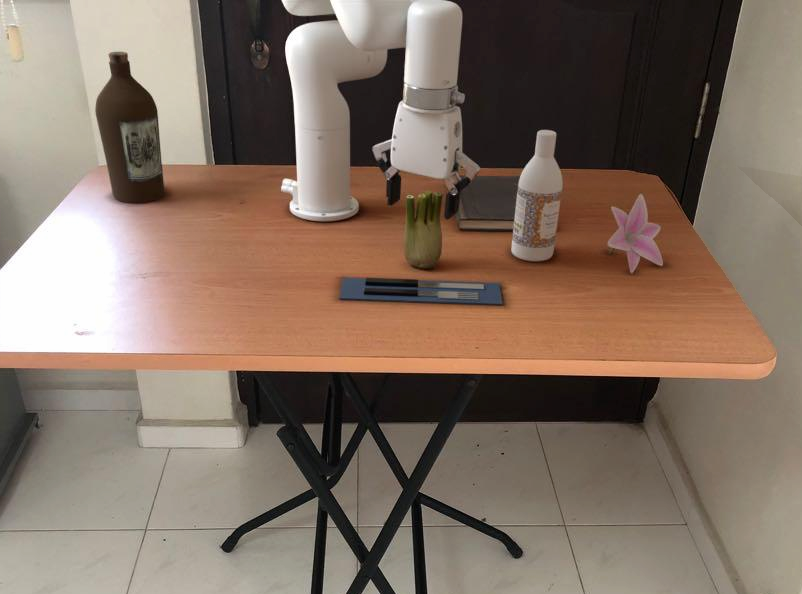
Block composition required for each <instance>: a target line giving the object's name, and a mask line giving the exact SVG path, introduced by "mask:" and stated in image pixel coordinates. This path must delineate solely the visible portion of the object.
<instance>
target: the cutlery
mask: <svg viewBox="0 0 802 594" xmlns="http://www.w3.org/2000/svg"><path fill="white" fill-rule="evenodd" d="M365 278H366V280H365V285H366V286H393V287H418V288H437V289H465V290H484V285H483V284H461V283H434V282H418V280H419V279H416V278H414V279H413V278H412V279H410V278H386V277H385V278H384V277H383V278H382V277H365ZM364 295H388V296H416V297H417V296H421V297H438V299H454V300H479V298H478V293H468V292H451V291H438V292H418V290H411V289H384V288H364Z"/></svg>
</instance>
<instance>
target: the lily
mask: <svg viewBox="0 0 802 594" xmlns="http://www.w3.org/2000/svg"><path fill="white" fill-rule="evenodd" d="M610 209H611V212H612V214H613V217H614V219H615V221H616V223H617V226H618V228H617V230H616V231H615V232H614V233H613V234H612V236H610V238H609V239H608V241H607V246H608V247H610V248H611V249H610V250H609V252H608V254H612V252H613V251H614V250H615V249H617V250H621V251H625V252H626V257H627V263H628V267H629V272H630V274H633V273H634V272H635V270H636V268H637V267H638V265H639V263H640V260H641V257H642V258H644V259H646V260H648V261H650V262H652V263H653V264H655V265H657V266H660V267H663V265H664V262H663V257H662V254H661V251H660V249H659V247H658V245H657V242H655V240H654V239H655V237H656V236H657V235H658V234H659V233H660V231H661V228H662V227H661V225H659V224H657V223H654V222H650V221H648V219H649V215H648V214H649V213H648V207H647V203H646V199H645V198H644V195H643V194H642V193H640V194H639V195H638V196H637V198H636V200H635V202H634V204H633V206H632V208H631V209H630V211H629V213H628V214H627V213H626V212H625V211H624V210H622V209H620V208H618V207H616V206H611V207H610Z"/></svg>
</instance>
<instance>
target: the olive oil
mask: <svg viewBox="0 0 802 594" xmlns="http://www.w3.org/2000/svg"><path fill="white" fill-rule="evenodd" d="M108 59H109V62H108V65H109V70H110V78H109V79H108V81H107V82H106V83H105V84H104V86H103V88H101V91H100V92H99V93H98V95H97V97H96V100H95V109H94V110H95V111H94V113H95V117H96V123H97V126H98V132H99V135H100V140H101V144H102V149H103V153H104V158H105V163H106V167H107V172H108V177H109V182H110V187H111V192H112V196H113V198H114V200H117V201H120V202H122V203H128V204H129V203H130V204H139V203H148V202H153V201H155V200H158V199H160V198H162V197H163V196H164V195H165V183H164V182H165V181H164V173H163V171H164V170H163V163H162V162H163V161H162V151H161V149H162V148H161V139H160V127H159V126H160V125H159V113H158V107H157V104H156V102H155V100H154V98H153V96H152V94H151V93H150V91H148V90H147V89H146V88H145V87H144V86H143V85H141V83H140V82H138V81H137V80H136V79H135V78H134V77H133V75H132V72H131V63H130V61H129V54H128V52H126V51H111V52H109V53H108Z"/></svg>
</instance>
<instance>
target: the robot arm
mask: <svg viewBox="0 0 802 594" xmlns="http://www.w3.org/2000/svg"><path fill="white" fill-rule="evenodd" d="M281 3H282V4H283V7H284V8H285V10H286V11H287V12H288V13H289V14H290V15H293V16H299V17H313V16H324V15H335V16H336V19H337V20H336V19H335V20H334V19H333V20H324V21H314V22H307V23H304V24H302V25H301V24H300V25H299V26H297V27H296V28H295V29H293V30H292V31H291V32H290V34H289V35H288V36H287V39H286V41H285V59H286V64H287V69H288V73H289V78H290V83H291V90H292V98H293V99H292V101H293V115H294V131H295V132H294V133H295V135H294V136H295V158H296V180H294V179H290V178H283V180H282V183H281V187H280V193H282V194H288V195H291V196H292V199H291V201H290V202H289V211H290V212H291V214H292V215H294V216H296V217H298V218H300V219H302V220H307V221H312V222H337V221H342V220H346V219H349V218H351V217H354V216H355V215H356V214H358V212H359V210H360V203H359V201H358V200H357V199H356V198H354V197H353V196H351V115H350V108H349V105H348V102H347V101H346V99H345V97H344V96H343V94H342V93H341V91H340V90H339V86H338V84H340V83H341V84H342V83H344V82H351V81H358V80H364V79H369V78H373V77H376V76H378V75H379V74H381V72H382V71H383V70H384V69H385V66H386V64H387V59H388V50H392V49H393V50H394V49H403V48H404V49H405V52H404V53H405V54H404V55H405V59H404V72H403V73H404V76H403V90H402V91H403V92H402V100H401V101H400V102H399V103H398V105H397V110H396V114H395V118H394V123H393V129H392V135H391V138H390V139H388V140H385V141H382V142H378V143H377V144H375V145H374V146H372V148H371V149H372V153H373V155H374V158H375V160H376V165H377V166H378V168H379V169H380V171H381V172H382V173H383V178H384V180H386V189H385V190H386V191H385V197H386V198H387V205H388V206H393V205H395V204H396V203H398V202H399V201H400V200H401V193H402V176H401V175H402V174H399V173H400V172H404V173H407V174H411V175H416V176H420V177H425V178H429V179H435V180H441V181H442V182H443V183H444V185H445V187H446V188H447V190H448V192H447V193H446V194H445V199H444V200H445V201H444V212H443V218H444V219H445V220H447V221H448V220H450V219H451V218H453V217H454V216H456V215H455V213H457V212H458V210H459V202H460V191H461V190H462V189H464V188H465V187H466V186H468V185H469V184H470V183H472V181H473V179H474V178H475V177H476V176H478V175H479V172H480V170H481V167H480V166H479V164H477V162H474V161H473V160H472V159H471V158H470V157H469V156H467V155H466V154H465V153H464V152H463V122H462V121H463V120H462V111H461V108H460V107H459V106H457V104H462V105H463V103H464V102H465V99H466V98H465V97H466V95H465V93H461V92H460V91H459V90H458V89H459V85H457V84H458V74H459V63H460V53H461V41H462V40H461V39H462V29H463V28H462V27H463V11H462V8H461V7H460V6H459V5H458V4H457V3H456V2H453V1H451V0H450V1H449V0H281ZM389 150H390V159H389V158H388V157H387V155H386V151H389ZM461 168H463V169H464V170H465V172H466V173H465V174H464V175H465V177H464V178H463V179H462V180H461V179H460V177H459V175H460V174H459V173H458V172H460V170H461Z"/></svg>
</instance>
